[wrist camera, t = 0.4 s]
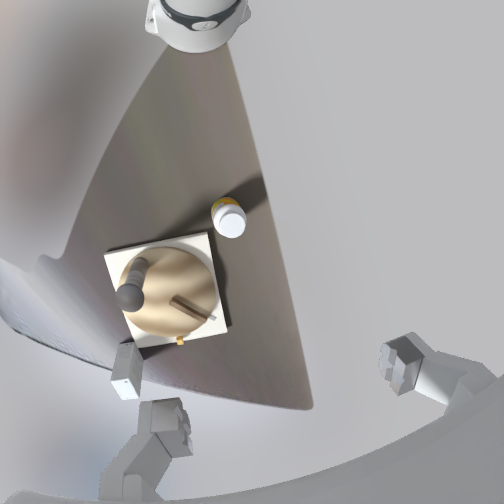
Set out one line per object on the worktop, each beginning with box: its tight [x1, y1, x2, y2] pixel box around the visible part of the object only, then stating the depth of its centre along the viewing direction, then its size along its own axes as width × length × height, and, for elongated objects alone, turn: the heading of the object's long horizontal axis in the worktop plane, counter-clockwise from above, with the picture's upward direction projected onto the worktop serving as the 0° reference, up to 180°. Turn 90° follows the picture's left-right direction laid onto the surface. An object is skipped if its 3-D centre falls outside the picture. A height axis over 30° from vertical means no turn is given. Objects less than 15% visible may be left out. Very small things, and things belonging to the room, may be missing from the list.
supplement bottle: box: [211, 197, 246, 238], centre depth 52 cm, size 5×5×10 cm
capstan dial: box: [115, 247, 216, 337], centre depth 51 cm, size 19×19×14 cm
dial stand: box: [104, 232, 227, 348], centre depth 58 cm, size 22×20×4 cm
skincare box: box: [111, 342, 144, 400], centre depth 58 cm, size 6×4×12 cm
